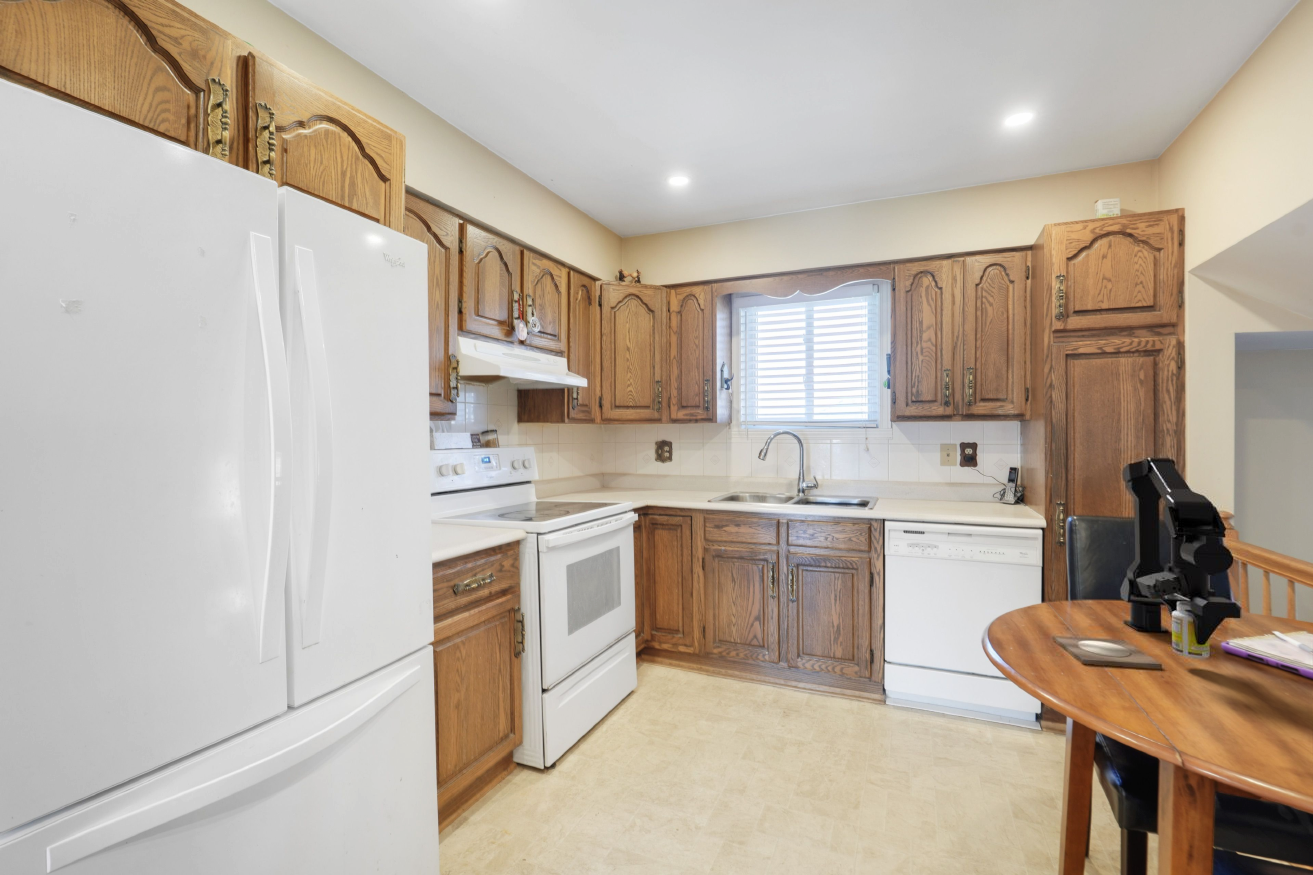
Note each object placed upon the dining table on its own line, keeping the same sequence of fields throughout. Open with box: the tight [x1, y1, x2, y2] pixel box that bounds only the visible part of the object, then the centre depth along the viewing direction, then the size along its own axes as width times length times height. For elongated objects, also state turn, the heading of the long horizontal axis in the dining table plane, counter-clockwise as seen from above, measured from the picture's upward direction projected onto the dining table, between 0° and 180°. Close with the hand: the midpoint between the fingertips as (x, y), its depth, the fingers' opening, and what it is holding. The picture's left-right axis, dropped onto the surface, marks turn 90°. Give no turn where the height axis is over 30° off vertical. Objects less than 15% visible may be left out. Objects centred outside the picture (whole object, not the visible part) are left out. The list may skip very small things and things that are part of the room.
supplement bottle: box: [1171, 601, 1211, 660], centre depth 117 cm, size 6×6×10 cm
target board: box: [1052, 635, 1163, 670], centre depth 125 cm, size 14×14×1 cm
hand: (1190, 639), depth 117 cm, fingers closed on supplement bottle, 6 cm apart
